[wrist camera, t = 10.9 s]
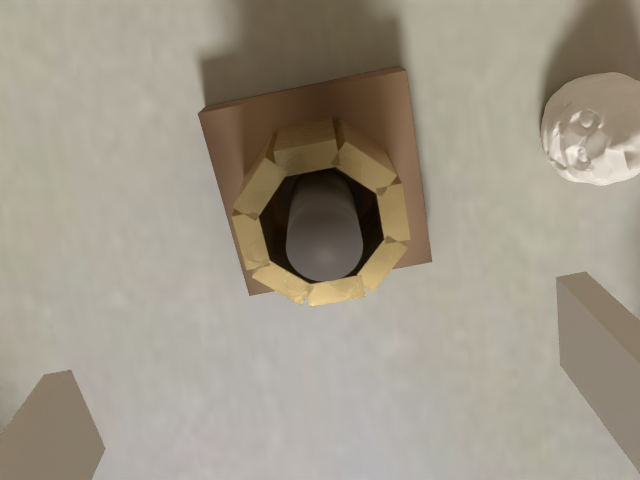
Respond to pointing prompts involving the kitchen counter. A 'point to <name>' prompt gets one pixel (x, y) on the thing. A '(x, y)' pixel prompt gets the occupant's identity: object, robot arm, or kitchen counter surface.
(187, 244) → the kitchen counter surface
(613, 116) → the garlic bulb
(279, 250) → the ring
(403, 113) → the shaft block
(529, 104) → the kitchen counter surface
